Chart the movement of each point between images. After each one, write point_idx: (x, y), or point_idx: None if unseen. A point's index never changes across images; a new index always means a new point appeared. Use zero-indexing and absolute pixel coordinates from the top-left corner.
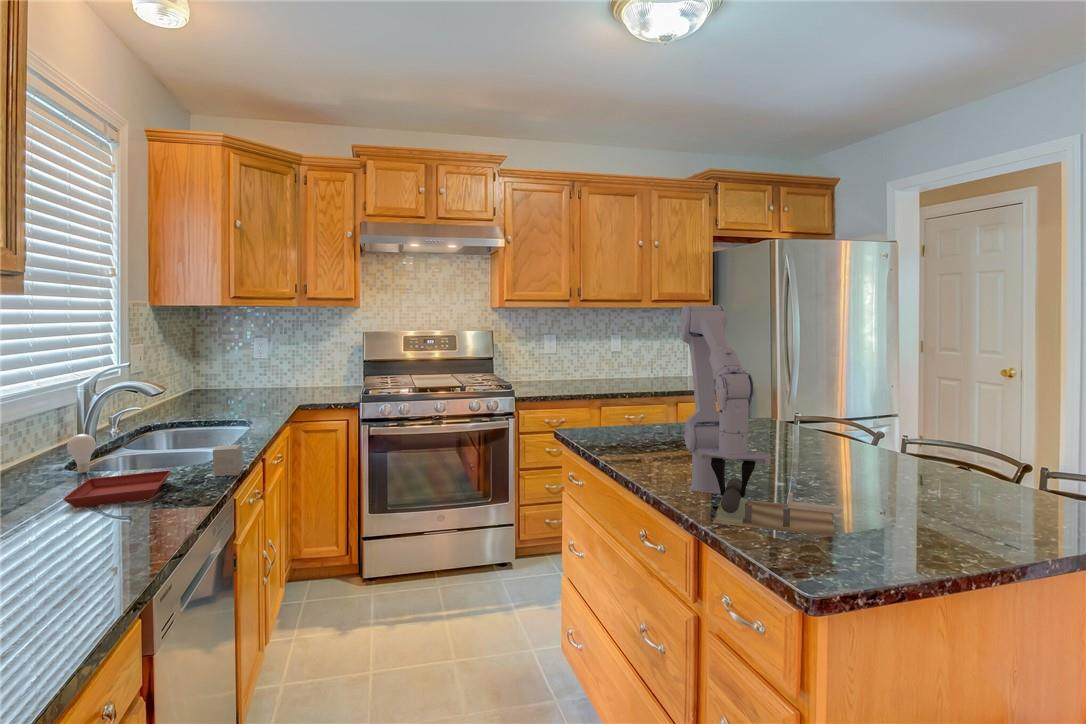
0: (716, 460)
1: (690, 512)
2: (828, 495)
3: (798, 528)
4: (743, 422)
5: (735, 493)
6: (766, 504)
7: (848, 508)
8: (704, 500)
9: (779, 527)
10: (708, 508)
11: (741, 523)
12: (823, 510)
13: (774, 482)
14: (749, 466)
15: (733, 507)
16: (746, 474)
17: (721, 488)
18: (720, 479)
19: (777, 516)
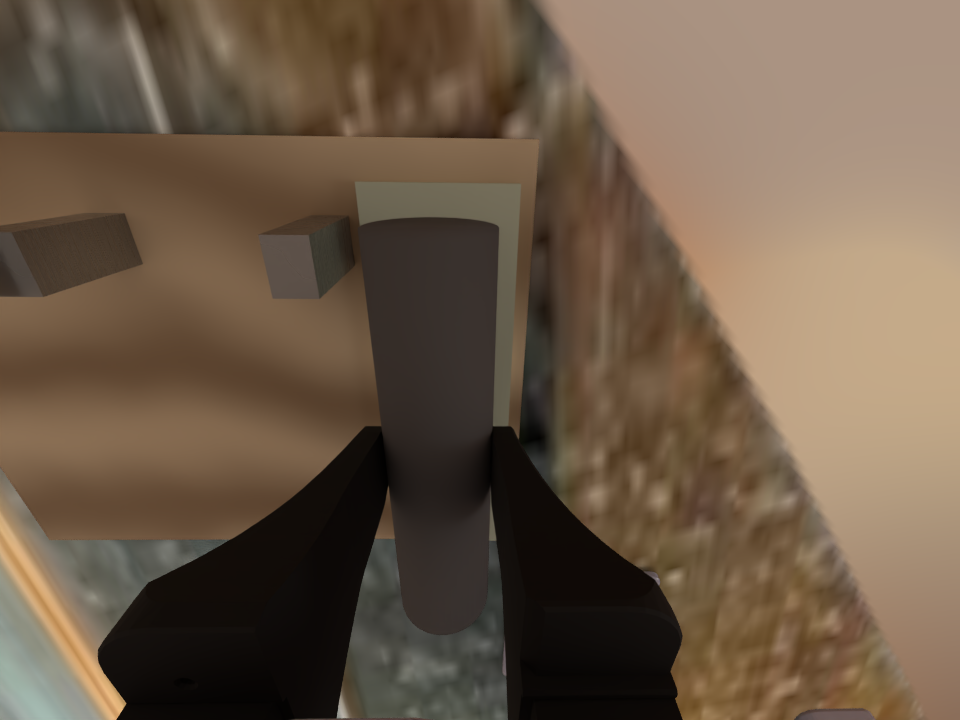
0: (614, 712)
1: (661, 329)
2: None
3: (35, 212)
4: None
5: (395, 365)
6: None
7: (21, 575)
8: (586, 505)
9: (135, 187)
10: (566, 414)
11: (361, 180)
12: None
13: (348, 716)
14: (143, 627)
15: (402, 224)
16: (263, 542)
17: (512, 448)
18: (528, 493)
19: (212, 374)
